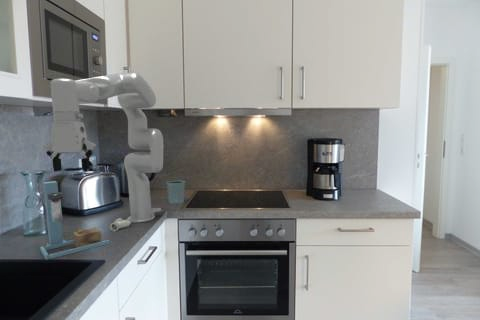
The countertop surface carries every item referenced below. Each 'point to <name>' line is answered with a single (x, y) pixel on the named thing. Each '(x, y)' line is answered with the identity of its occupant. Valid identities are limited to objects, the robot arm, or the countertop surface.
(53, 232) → the press
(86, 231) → the housing
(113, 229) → the pipe fitting
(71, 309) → the countertop surface
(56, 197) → the ram
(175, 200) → the drinking glass
